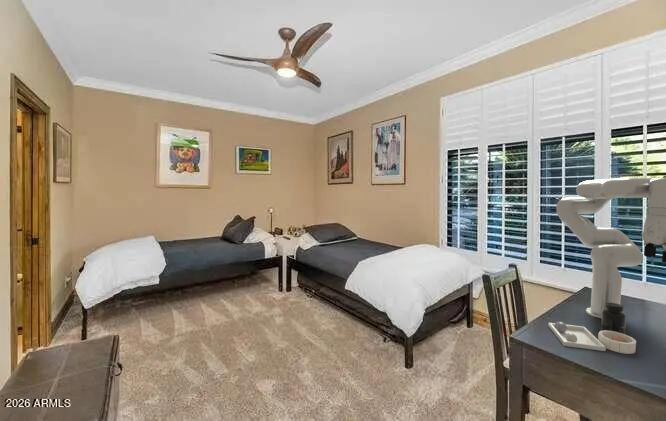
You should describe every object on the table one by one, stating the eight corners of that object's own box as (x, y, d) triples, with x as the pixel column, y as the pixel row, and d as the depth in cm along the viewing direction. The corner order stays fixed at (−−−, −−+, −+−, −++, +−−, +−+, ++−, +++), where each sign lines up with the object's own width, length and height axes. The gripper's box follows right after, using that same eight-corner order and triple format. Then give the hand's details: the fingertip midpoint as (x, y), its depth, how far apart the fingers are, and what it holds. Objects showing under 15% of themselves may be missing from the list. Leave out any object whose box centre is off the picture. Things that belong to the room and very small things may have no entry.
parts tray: (548, 327, 124) (548, 322, 124) (584, 331, 120) (584, 326, 120) (564, 347, 109) (564, 341, 108) (605, 352, 105) (605, 347, 105)
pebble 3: (615, 348, 107) (616, 338, 106) (609, 342, 110) (610, 333, 109) (628, 350, 105) (629, 340, 105) (622, 344, 109) (623, 335, 108)
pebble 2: (563, 339, 113) (564, 330, 112) (574, 341, 112) (575, 332, 111) (567, 344, 110) (567, 335, 109) (578, 345, 108) (579, 336, 108)
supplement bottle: (627, 341, 112) (629, 309, 111) (602, 336, 116) (604, 305, 115) (622, 333, 118) (624, 303, 117) (598, 329, 122) (600, 300, 121)
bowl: (593, 339, 114) (593, 328, 114) (625, 343, 111) (625, 332, 111) (606, 352, 105) (607, 341, 105) (642, 357, 102) (642, 345, 102)
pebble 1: (554, 329, 121) (554, 320, 121) (564, 330, 120) (565, 321, 120) (557, 333, 118) (557, 324, 117) (568, 334, 117) (569, 325, 116)
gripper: (634, 210, 119) (631, 253, 120) (665, 214, 102) (661, 264, 104) (658, 210, 116) (655, 254, 118) (695, 214, 100) (690, 266, 101)
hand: (658, 259), depth 111 cm, fingers open, 9 cm apart
